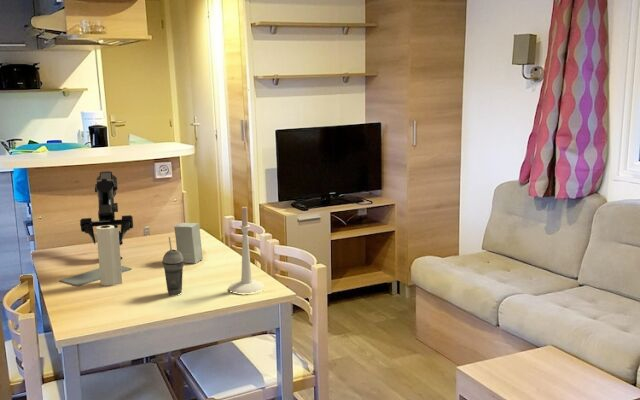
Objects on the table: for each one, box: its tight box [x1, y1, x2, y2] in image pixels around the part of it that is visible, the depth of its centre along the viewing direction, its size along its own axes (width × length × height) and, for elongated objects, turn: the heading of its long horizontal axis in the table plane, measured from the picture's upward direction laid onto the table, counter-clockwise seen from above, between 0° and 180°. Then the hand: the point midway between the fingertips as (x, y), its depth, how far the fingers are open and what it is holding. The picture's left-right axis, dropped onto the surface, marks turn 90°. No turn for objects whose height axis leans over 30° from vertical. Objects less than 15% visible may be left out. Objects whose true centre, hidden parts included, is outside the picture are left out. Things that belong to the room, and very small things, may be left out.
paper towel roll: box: [95, 225, 123, 287], centre depth 215 cm, size 7×6×21 cm
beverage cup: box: [162, 236, 185, 296], centre depth 204 cm, size 7×7×20 cm
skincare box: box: [173, 222, 204, 264], centre depth 243 cm, size 8×7×16 cm
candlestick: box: [228, 205, 265, 293], centre depth 207 cm, size 13×13×30 cm
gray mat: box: [59, 265, 133, 287], centre depth 227 cm, size 24×11×1 cm, turn 147°
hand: (107, 242), depth 222 cm, fingers open, 9 cm apart
